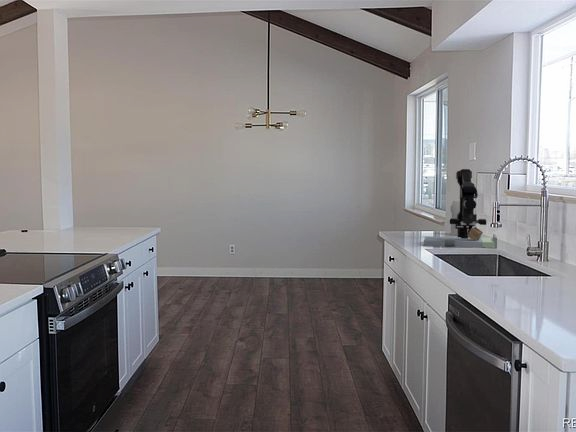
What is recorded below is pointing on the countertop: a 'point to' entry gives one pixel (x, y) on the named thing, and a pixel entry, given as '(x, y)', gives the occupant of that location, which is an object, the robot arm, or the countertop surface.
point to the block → (474, 234)
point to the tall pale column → (455, 216)
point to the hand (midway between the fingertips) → (467, 237)
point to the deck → (461, 242)
